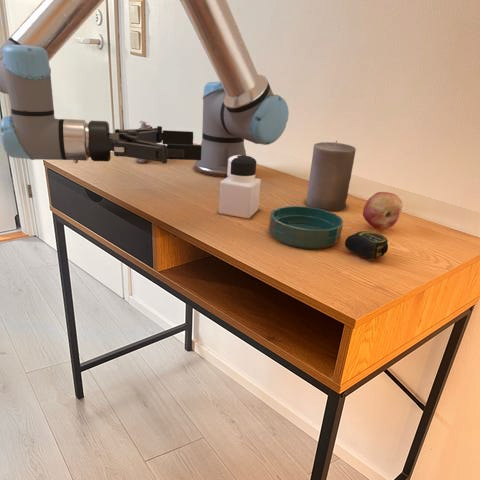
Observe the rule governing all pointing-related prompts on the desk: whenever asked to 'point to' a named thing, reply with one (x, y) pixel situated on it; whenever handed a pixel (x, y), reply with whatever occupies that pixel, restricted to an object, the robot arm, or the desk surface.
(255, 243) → the desk surface
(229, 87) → the robot arm
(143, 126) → the flask
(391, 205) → the fruit
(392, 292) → the desk surface
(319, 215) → the bowl
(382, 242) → the tape measure
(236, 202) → the medicine bottle
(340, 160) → the pillar candle
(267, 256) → the desk surface
